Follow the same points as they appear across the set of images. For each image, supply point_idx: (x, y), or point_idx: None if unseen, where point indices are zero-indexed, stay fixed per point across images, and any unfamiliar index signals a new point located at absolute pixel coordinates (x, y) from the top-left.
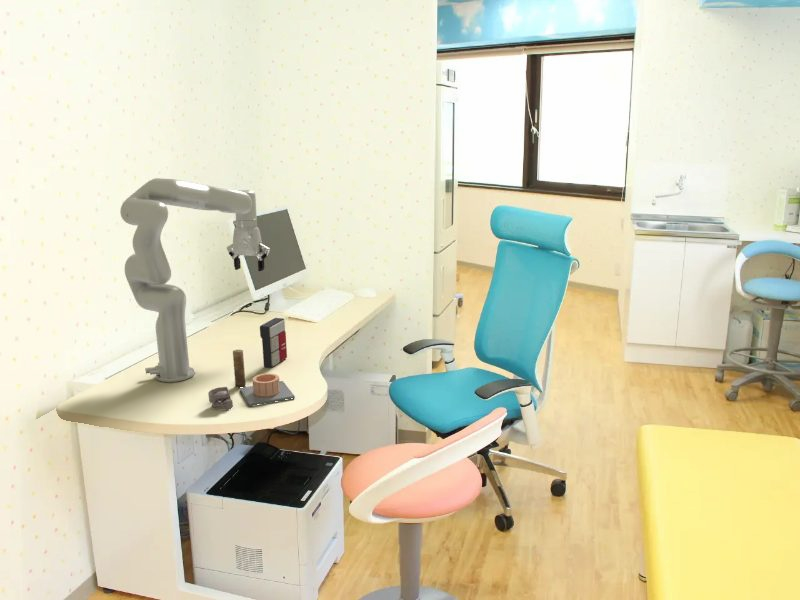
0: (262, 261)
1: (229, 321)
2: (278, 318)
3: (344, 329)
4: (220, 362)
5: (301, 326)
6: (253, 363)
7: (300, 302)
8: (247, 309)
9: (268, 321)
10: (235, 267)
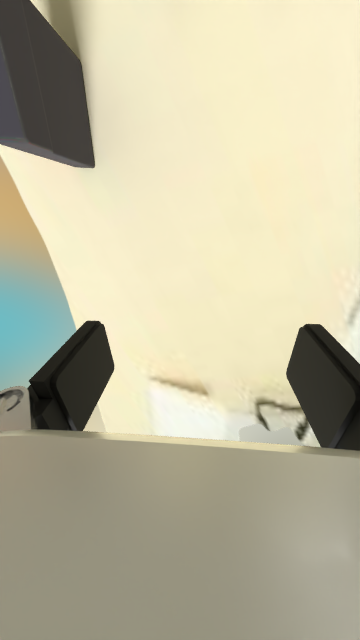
0: (30, 392)
1: None
2: (5, 128)
3: None
4: (219, 55)
5: (162, 359)
6: (125, 87)
7: None
8: (295, 416)
9: (1, 52)
10: (322, 334)
